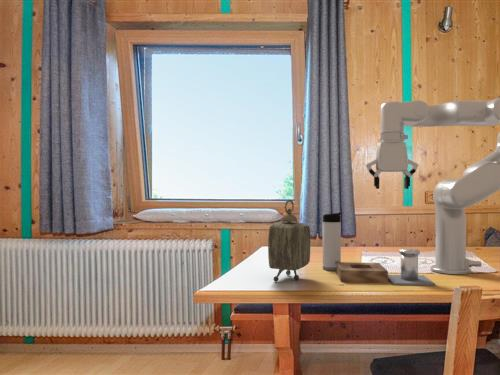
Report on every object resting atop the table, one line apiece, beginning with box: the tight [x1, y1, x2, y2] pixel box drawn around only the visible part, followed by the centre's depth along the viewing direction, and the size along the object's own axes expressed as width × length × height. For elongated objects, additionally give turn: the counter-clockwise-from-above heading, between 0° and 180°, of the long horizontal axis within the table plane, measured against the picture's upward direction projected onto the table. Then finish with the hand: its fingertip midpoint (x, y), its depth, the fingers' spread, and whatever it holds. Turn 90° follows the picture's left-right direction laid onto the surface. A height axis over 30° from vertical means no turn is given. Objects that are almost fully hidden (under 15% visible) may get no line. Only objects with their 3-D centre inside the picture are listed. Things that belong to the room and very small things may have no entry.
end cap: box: [398, 248, 421, 281], centre depth 135 cm, size 6×6×9 cm
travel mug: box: [322, 211, 343, 272], centre depth 154 cm, size 6×7×20 cm
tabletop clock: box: [267, 199, 311, 283], centre depth 137 cm, size 14×9×25 cm, turn 155°
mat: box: [388, 274, 437, 287], centre depth 135 cm, size 12×12×1 cm
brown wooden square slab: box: [336, 261, 389, 284], centre depth 140 cm, size 14×14×4 cm
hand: (391, 188), depth 150 cm, fingers open, 9 cm apart
